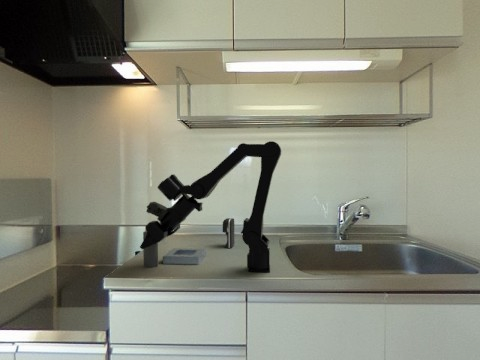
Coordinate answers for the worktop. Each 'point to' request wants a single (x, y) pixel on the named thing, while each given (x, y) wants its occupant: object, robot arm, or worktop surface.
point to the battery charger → (229, 232)
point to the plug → (150, 254)
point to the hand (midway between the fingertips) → (146, 245)
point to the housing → (184, 256)
